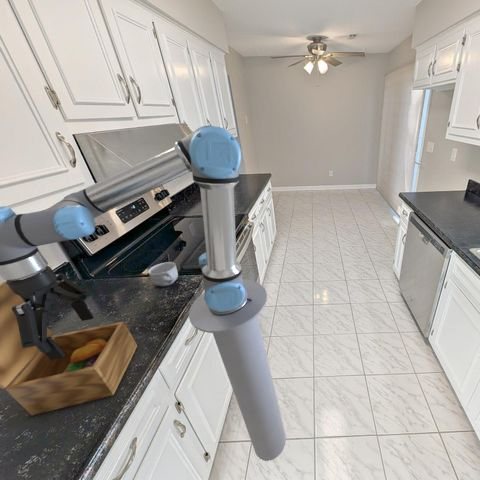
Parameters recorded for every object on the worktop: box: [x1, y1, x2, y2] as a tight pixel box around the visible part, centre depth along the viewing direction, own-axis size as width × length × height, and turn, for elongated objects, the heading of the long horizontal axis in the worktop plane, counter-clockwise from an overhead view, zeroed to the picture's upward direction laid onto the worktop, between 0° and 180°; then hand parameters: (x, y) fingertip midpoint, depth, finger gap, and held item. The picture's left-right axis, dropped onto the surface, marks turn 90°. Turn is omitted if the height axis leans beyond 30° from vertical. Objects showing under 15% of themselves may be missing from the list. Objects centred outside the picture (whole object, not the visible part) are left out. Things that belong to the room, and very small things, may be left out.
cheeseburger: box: [68, 339, 108, 372], centre depth 74 cm, size 10×11×10 cm
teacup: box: [147, 261, 179, 287], centre depth 113 cm, size 14×11×8 cm
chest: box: [4, 321, 138, 416], centre depth 72 cm, size 19×17×11 cm
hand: (74, 336), depth 69 cm, fingers open, 13 cm apart
